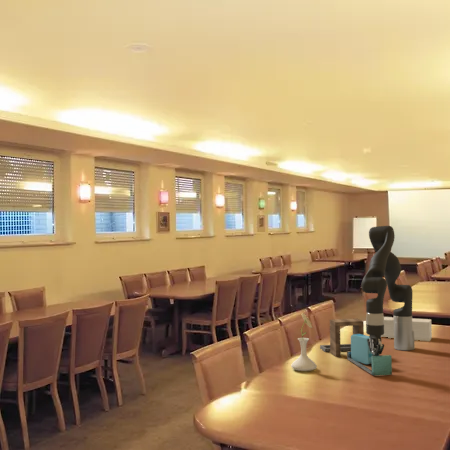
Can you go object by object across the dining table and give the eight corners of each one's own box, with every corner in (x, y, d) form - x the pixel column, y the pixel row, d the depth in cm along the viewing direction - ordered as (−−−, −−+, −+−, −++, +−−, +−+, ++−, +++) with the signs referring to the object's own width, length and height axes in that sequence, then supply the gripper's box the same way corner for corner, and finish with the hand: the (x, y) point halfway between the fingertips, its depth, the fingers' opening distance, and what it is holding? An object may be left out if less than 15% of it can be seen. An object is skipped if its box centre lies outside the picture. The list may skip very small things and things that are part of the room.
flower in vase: (316, 373, 220) (315, 315, 221) (290, 372, 223) (289, 315, 223) (317, 366, 233) (316, 311, 234) (292, 365, 236) (291, 311, 236)
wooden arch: (357, 351, 260) (357, 318, 260) (364, 355, 252) (363, 321, 252) (330, 353, 258) (329, 319, 258) (335, 357, 250) (335, 322, 250)
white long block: (371, 337, 297) (370, 318, 297) (374, 334, 306) (374, 316, 306) (429, 341, 282) (429, 322, 282) (431, 338, 291) (431, 319, 292)
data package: (375, 363, 233) (375, 337, 233) (368, 365, 231) (367, 338, 231) (358, 358, 243) (358, 333, 244) (350, 359, 242) (350, 334, 242)
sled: (363, 358, 245) (363, 341, 245) (391, 374, 215) (391, 355, 215) (347, 358, 244) (346, 342, 244) (373, 375, 214) (373, 356, 214)
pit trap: (352, 347, 271) (352, 343, 271) (358, 350, 263) (358, 346, 263) (320, 348, 268) (320, 345, 268) (325, 352, 260) (325, 348, 260)
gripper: (390, 325, 215) (391, 366, 215) (376, 320, 229) (377, 359, 228) (373, 326, 214) (374, 367, 214) (360, 321, 228) (361, 359, 227)
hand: (375, 363), depth 221 cm, fingers closed
